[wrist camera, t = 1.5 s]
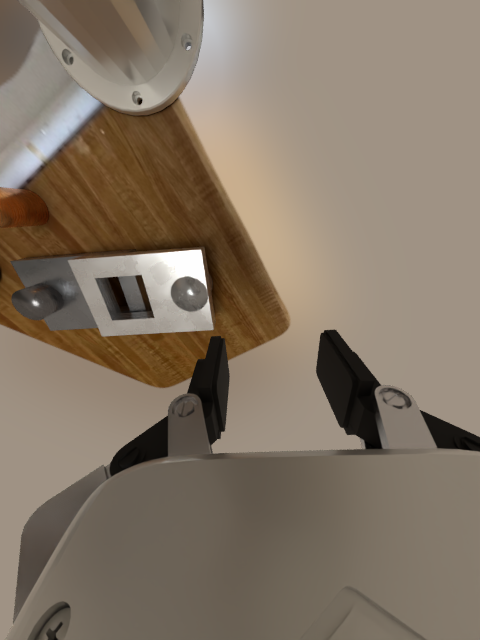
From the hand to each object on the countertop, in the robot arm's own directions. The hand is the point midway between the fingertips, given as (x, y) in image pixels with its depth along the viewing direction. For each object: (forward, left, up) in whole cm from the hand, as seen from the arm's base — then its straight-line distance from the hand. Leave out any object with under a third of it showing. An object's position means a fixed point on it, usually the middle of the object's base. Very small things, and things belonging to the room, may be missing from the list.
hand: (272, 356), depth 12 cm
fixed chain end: (0, -21, -15) cm, 26 cm away
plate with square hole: (0, -12, -15) cm, 19 cm away
